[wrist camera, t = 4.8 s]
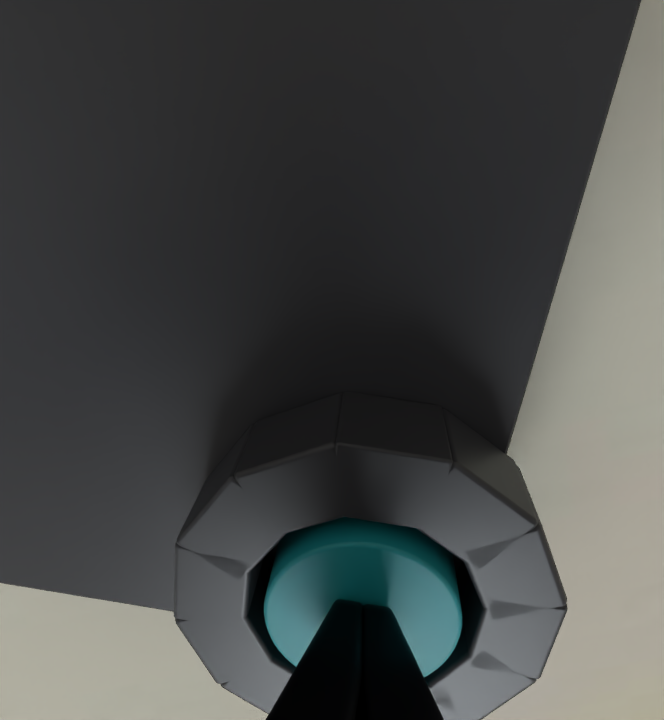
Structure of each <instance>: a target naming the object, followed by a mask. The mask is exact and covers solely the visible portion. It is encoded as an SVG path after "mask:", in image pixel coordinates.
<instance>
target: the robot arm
mask: <svg viewBox="0 0 664 720" xmlns="http://www.w3.org/2000/svg"><path fill="white" fill-rule="evenodd" d="M266 720H444V719H443V716H442V714H441V712H440V710H439V708H438V706H437V704H436V702H435V700H434V698H433V695H432V693H431V691H430V689H429V687H428V685H427V683H426V681H425V679H424V676H423V674H422V672H421V670H420V668H419V666H418V664H417V662H416V660H415V657H414V655H413V653H412V651H411V649H410V647H409V645H408V643H407V641H406V638H405V636H404V634H403V632H402V630H401V628H400V626H399V624H398V622H397V619H396V617H395V615H394V613H393V611H392V610H391V609H390V608H389V607H385V606H379V605H373V604H366V605H364V606H363V607H362V604H361V603H359V602H354V601H348V600H342V599H338V600H336V601H335V602H334V603H333V605H332V606H331V608H330V610H329V612H328V613H327V615H326V617H325V618H324V620H323V622H322V624H321V625H320V627H319V629H318V630H317V632H316V634H315V636H314V637H313V639H312V641H311V643H310V644H309V646H308V648H307V649H306V651H305V653H304V655H303V656H302V658H301V660H300V661H299V663H298V665H297V667H296V668H295V670H294V672H293V673H292V675H291V677H290V679H289V680H288V682H287V684H286V686H285V687H284V689H283V691H282V692H281V694H280V696H279V698H278V699H277V701H276V703H275V704H274V706H273V708H272V710H271V711H270V713H269V715H268V717H267V718H266Z"/></svg>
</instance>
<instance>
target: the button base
mask: <svg viewBox="0 0 664 720" xmlns="http://www.w3.org/2000/svg"><path fill="white" fill-rule="evenodd" d="M640 3H641V0H0V583H4V584H10V585H16V586H22V587H28V588H34V589H40V590H46V591H53V592H59V593H65V594H71V595H77V596H83V597H89V598H95V599H101V600H107V601H113V602H119V603H125V604H131V605H137V606H143V607H150V608H156V609H162V610H168V611H174V617H175V621H176V624H177V625H178V627H179V628H180V630H181V631H182V633H183V634H184V636H185V637H186V639H187V640H188V642H189V643H190V645H191V646H192V647H193V649H194V650H195V652H196V653H197V655H198V656H199V658H200V659H201V661H202V662H203V664H204V665H205V667H206V668H207V670H208V671H209V673H210V674H211V676H212V677H213V678H214V680H215V681H216V683H218V684H221V686H222V687H223V688H225V689H226V690H228V691H230V692H231V693H233V694H235V695H237V696H238V697H240V698H242V699H243V700H245V701H247V702H249V703H250V704H252V705H254V706H256V707H257V708H259V709H261V710H262V711H264V712H266V713H268V714H269V713H270V711H271V710H272V708H273V706H274V704H275V703H276V701H277V699H278V698H279V696H280V694H281V692H282V691H283V689H284V687H285V686H286V684H287V682H288V680H289V679H290V677H291V675H292V673H293V672H294V670H295V668H296V666H294V665H293V664H292V663H291V662H290V661H288V660H287V659H286V658H285V657H284V656H283V655H282V653H281V652H280V651H279V650H278V649H277V647H276V646H275V644H274V643H273V641H272V639H271V637H270V635H269V632H268V629H267V626H266V623H265V617H264V600H265V595H266V591H267V587H268V583H269V579H270V575H271V571H272V567H273V563H274V559H275V555H276V551H277V547H278V543H279V541H280V540H281V539H282V538H283V537H284V536H285V535H286V534H287V533H290V532H294V531H297V530H301V529H304V528H308V527H311V526H315V525H318V524H322V523H325V522H329V521H332V520H336V519H339V518H343V517H348V518H355V519H361V520H367V521H373V522H380V523H386V524H392V525H399V526H405V527H411V528H416V529H418V530H419V531H421V532H422V533H423V534H425V535H426V536H428V537H429V538H431V539H432V540H434V541H435V542H436V543H438V544H439V545H441V546H442V547H444V548H445V549H447V550H448V551H449V552H451V553H452V554H453V560H454V566H455V572H456V578H457V585H458V591H459V597H460V603H461V610H462V629H461V634H460V637H459V640H458V642H457V645H456V647H455V649H454V650H453V652H452V654H451V655H450V656H449V658H448V659H447V660H446V661H445V662H444V663H443V664H442V665H441V666H440V667H439V668H438V669H437V670H435V671H434V672H432V673H431V674H429V675H428V676H426V677H424V679H425V681H426V683H427V685H428V687H429V689H430V691H431V693H432V695H433V698H434V700H435V702H436V704H437V706H438V708H439V710H440V712H441V714H442V716H443V719H444V720H481V719H483V718H484V717H485V716H487V715H488V714H490V713H491V712H493V711H494V710H496V709H497V708H499V707H500V706H501V705H503V704H504V703H506V702H507V701H509V700H510V699H512V698H513V697H515V696H516V695H517V694H519V693H520V692H522V691H523V690H525V689H526V688H528V687H529V686H531V685H532V684H533V683H535V681H536V679H539V678H540V677H541V674H542V672H543V669H544V667H545V664H546V662H547V659H548V657H549V654H550V652H551V649H552V647H553V644H554V642H555V639H556V637H557V634H558V632H559V629H560V627H561V624H562V622H563V619H564V617H565V614H566V612H567V604H566V602H567V597H566V594H565V591H564V589H563V586H562V583H561V580H560V577H559V574H558V571H557V568H556V565H555V562H554V559H553V556H552V553H551V551H550V548H549V545H548V542H547V539H546V536H545V533H544V530H543V527H542V524H541V522H540V519H539V517H538V514H537V512H536V509H535V507H534V504H533V502H532V499H531V497H530V494H529V491H528V489H527V486H526V484H525V481H524V479H523V476H522V474H521V471H520V469H519V467H518V466H517V465H516V464H515V462H514V460H513V459H511V458H510V457H509V456H507V455H506V454H507V451H508V447H509V444H510V441H511V437H512V434H513V431H514V427H515V424H516V420H517V417H518V414H519V410H520V407H521V404H522V400H523V397H524V394H525V390H526V387H527V383H528V380H529V377H530V373H531V370H532V367H533V363H534V360H535V357H536V353H537V350H538V346H539V343H540V340H541V336H542V333H543V330H544V326H545V323H546V319H547V316H548V313H549V309H550V306H551V303H552V299H553V296H554V293H555V289H556V286H557V282H558V279H559V276H560V272H561V269H562V266H563V262H564V259H565V256H566V252H567V249H568V245H569V242H570V239H571V235H572V232H573V229H574V225H575V222H576V219H577V215H578V212H579V208H580V205H581V202H582V198H583V195H584V192H585V188H586V185H587V181H588V178H589V175H590V171H591V168H592V165H593V161H594V158H595V155H596V151H597V148H598V144H599V141H600V138H601V134H602V131H603V128H604V124H605V121H606V118H607V114H608V111H609V107H610V104H611V101H612V97H613V94H614V91H615V87H616V84H617V81H618V77H619V74H620V70H621V67H622V64H623V60H624V57H625V54H626V50H627V47H628V43H629V40H630V37H631V33H632V30H633V27H634V23H635V20H636V17H637V13H638V10H639V6H640Z"/></svg>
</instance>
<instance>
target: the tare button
mask: <svg viewBox="0 0 664 720" xmlns="http://www.w3.org/2000/svg"><path fill="white" fill-rule="evenodd" d="M338 599H342V600H348V601H354V602H359V603H361V604H362V607H363V606H364V605H366V604H373V605H379V606H385V607H389V608H390V609H391V610H392V611H393V613H394V615H395V617H396V619H397V622H398V624H399V626H400V628H401V630H402V632H403V634H404V636H405V638H406V641H407V643H408V645H409V647H410V649H411V651H412V653H413V655H414V657H415V660H416V662H417V664H418V666H419V668H420V670H421V672H422V674H423V676H424V677H426V676H428V675H429V674H431V673H432V672H434V671H435V670H437V669H438V668H439V667H440V666H441V665H442V664H443V663H444V662H445V661H446V660H447V659H448V658H449V656H450V655H451V654H452V652H453V650H454V649H455V647H456V645H457V642H458V640H459V637H460V634H461V629H462V610H461V603H460V597H459V591H458V585H457V578H456V572H455V566H454V560H453V554H452V553H451V552H449V551H448V550H447V549H445V548H444V547H442V546H441V545H439V544H438V543H436V542H435V541H434V540H432V539H431V538H429V537H428V536H426V535H425V534H423V533H422V532H421V531H419V530H418V529H416V528H411V527H405V526H399V525H392V524H386V523H380V522H373V521H367V520H361V519H355V518H348V517H343V518H339V519H336V520H332V521H329V522H325V523H322V524H318V525H315V526H311V527H308V528H304V529H301V530H297V531H294V532H290V533H287V534H286V535H285V536H284V537H283V538H282V539H281V540H280V541H279V543H278V547H277V551H276V555H275V559H274V563H273V567H272V571H271V575H270V579H269V583H268V587H267V591H266V595H265V600H264V617H265V623H266V626H267V629H268V632H269V635H270V637H271V639H272V641H273V643H274V644H275V646H276V647H277V649H278V650H279V651H280V652H281V653H282V655H283V656H284V657H285V658H286V659H287V660H288V661H290V662H291V663H292V664H293V665H294V666H296V667H297V665H298V663H299V661H300V660H301V658H302V656H303V655H304V653H305V651H306V649H307V648H308V646H309V644H310V643H311V641H312V639H313V637H314V636H315V634H316V632H317V630H318V629H319V627H320V625H321V624H322V622H323V620H324V618H325V617H326V615H327V613H328V612H329V610H330V608H331V606H332V605H333V603H334V602H335V601H336V600H338Z"/></svg>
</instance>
